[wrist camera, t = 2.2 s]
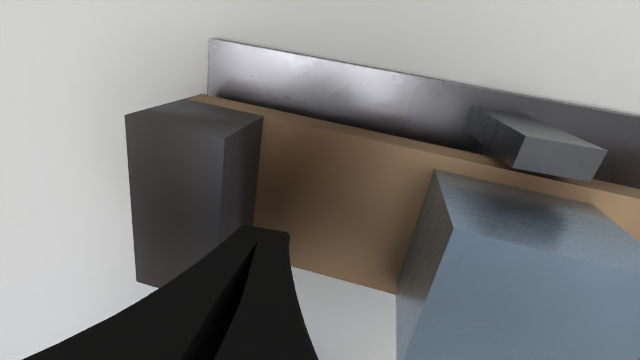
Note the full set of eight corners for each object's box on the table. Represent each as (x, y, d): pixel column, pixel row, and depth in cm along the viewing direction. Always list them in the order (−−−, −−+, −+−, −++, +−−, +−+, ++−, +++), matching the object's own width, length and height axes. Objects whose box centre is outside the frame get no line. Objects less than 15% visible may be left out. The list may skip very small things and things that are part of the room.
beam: (920, 250, 10) (1226, 371, 7) (780, 378, 13) (943, 520, 9) (202, 94, 13) (124, 115, 9) (199, 223, 16) (136, 281, 12)
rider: (527, 319, 13) (580, 430, 9) (396, 283, 13) (396, 374, 10) (592, 204, 11) (695, 288, 7) (434, 168, 11) (454, 228, 8)
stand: (781, 142, 14) (992, 195, 9) (647, 317, 18) (750, 413, 14) (214, 38, 14) (150, 41, 9) (207, 240, 18) (160, 312, 13)
